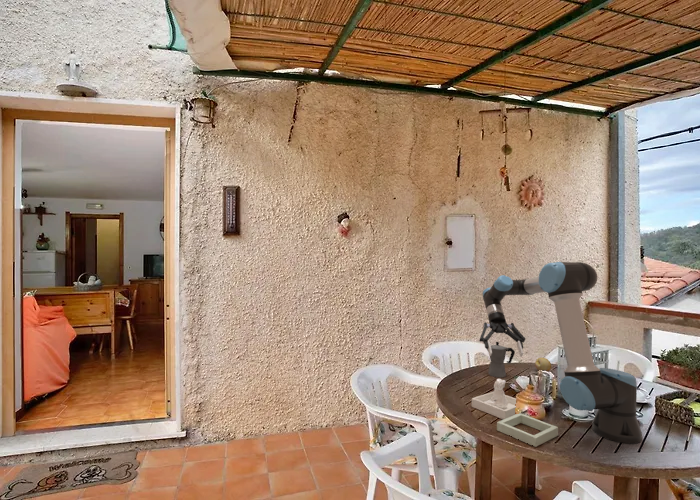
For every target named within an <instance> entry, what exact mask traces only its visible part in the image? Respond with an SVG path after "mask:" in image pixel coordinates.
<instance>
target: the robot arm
mask: <svg viewBox="0 0 700 500" xmlns="http://www.w3.org/2000/svg"><path fill="white" fill-rule="evenodd" d="M597 281H598V274H597V271H596V270H595V268H594V267H593V266H592V265H591V264H588V263H585V262H580V261H577V262H576V261H575V262H569V261H556V262H548V263H546V264H544V265H543V266H542V267H541V270H540V271H539V274H538V276H535V277H530V278H524V279H512V278H511V277H510V276H506V275H504V274H503V275H500V276H498V277H497V278H496V280H495V281H494V282H493V284H492V285H491V287H490V286H489V287H487V288H485V289H483V291H482V299H483V302H484V306H485V310H486V314H487V319H488V322H489V323H487V322H483V325H482V326H483V327H482V328H483V330H482V331H481V335H480V337H479V342H480V343H481V342H482V343H483V345H484V348H485V349H486V348H487V349H488V351H487V353H488V357H490V356H491V355H492V350H491V342H490V340H489V339H490V338H491V337H492V336H493V335H494V334H495V333H496V334H505V335H507V336H508V337H509V338H511V339H512V340H514V341H515V342H516V347H517V350H518V353H519V357H523V356H524V350H523V349H524V344H523V343H525V341H526V336H524V335H523V334H522V333H521V332H520V331H519V330H518V328H517V327H516V326H515V324H514V323H513V322H511V323H508V322H507V320H506V317H505V316H506V315H505V313H504V309H503V306H502V300H503V299H504V298H505V296H530V295H534V294H540V293H541V294H542V293H547V295H548V299H549V300H550V301H552V302H553V303H554V307H555V314H556V317H557V318H556V319H557V321H558V322H557V323H558V328H559V332H560V335H561V341H562V346H563V351H564V355H565V361H566V368H565V369H564V371H563V373H564V377H563V378H562V379H561V380H560V383H559V391H560V393H561V397H563V399H564V401H565V403H567V404H568V405H569V407H571V408H572V409H575V410H577V411H593V410H597V411H596V413H595V416H594V418H593V420H592V427H591V428H592V431H593V432H594V433H596V434H597V435H598V436H600V437H602V438H604V439H607V440H609V441H613V442H617V443H622V444H638V443H641V442H642V441H643V433H642V428H641V427H640V424H639V420H638V419H637V399H638V398H637V392H638V391H637V390H638V386H637V378H636V377H635V376H634V374H631V373H628V372H625V371H622V370H618V369H615V368H614V369H613V368H607V367H597V366H596V365H595V364H594V363H595V362H594V358H593V354H592V350H591V346H590V341H589V337H588V333H587V328H586V324H585V319H584V315H583V310H582V306H581V302H580V299H581V297H582V296H583V292H586V291H589V290H592V289H593V288H594V287H595V286H596V285H597V283H598V282H597ZM488 329H490V331H489V332H488V333H487V335H486V336H485V334H486V331H487V330H488ZM487 349H486V350H487Z"/></svg>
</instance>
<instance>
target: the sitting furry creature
mask: <svg viewBox="0 0 700 500" xmlns="http://www.w3.org/2000/svg"><path fill="white" fill-rule="evenodd" d="M506 383H507V382H506V379H501V378H496V381H494V384H493V391H494V393H493V397H491V399H490V400H491V401H486V402H485V403H488V404H490V405H493V406H496V407H498V408H501V409H504V408H506V407H507V406H508V400H507V399H506V397H505V395H506V394H505V393H506V392H505V391H504V388H505V385H506Z"/></svg>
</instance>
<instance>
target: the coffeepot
mask: <svg viewBox="0 0 700 500" xmlns="http://www.w3.org/2000/svg"><path fill="white" fill-rule="evenodd" d="M490 345H491V344H490ZM485 349H486V350H487V352H488V349H487V348H485ZM491 350H492V355H491V356H489V359H490V363H489V367H488V375H489V376H490V377H493V378H497V379H499V378H500V379H501V378H505V377H506V376H507V372H506V366H505V363H504V362H505V360H506V355H507V354H506V353H507V352H510V356H509V358H508V359H509V360H506V364H511V363H512V361H513V358H514V356H515V353H516V351H515V350H514V349H513V348H512V347H506V346H504V345H500V342H499V341H496V342H495V344H492V345H491Z"/></svg>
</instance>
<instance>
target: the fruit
mask: <svg viewBox="0 0 700 500" xmlns="http://www.w3.org/2000/svg"><path fill="white" fill-rule="evenodd" d="M534 367H535V368H536V369H537V371H539V370H546V371H547V372H549V371H550V370H551V369H552V364H551V361H550V359H548V358H546V357H538V358H537V359H536V360H535V362H534Z"/></svg>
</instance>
